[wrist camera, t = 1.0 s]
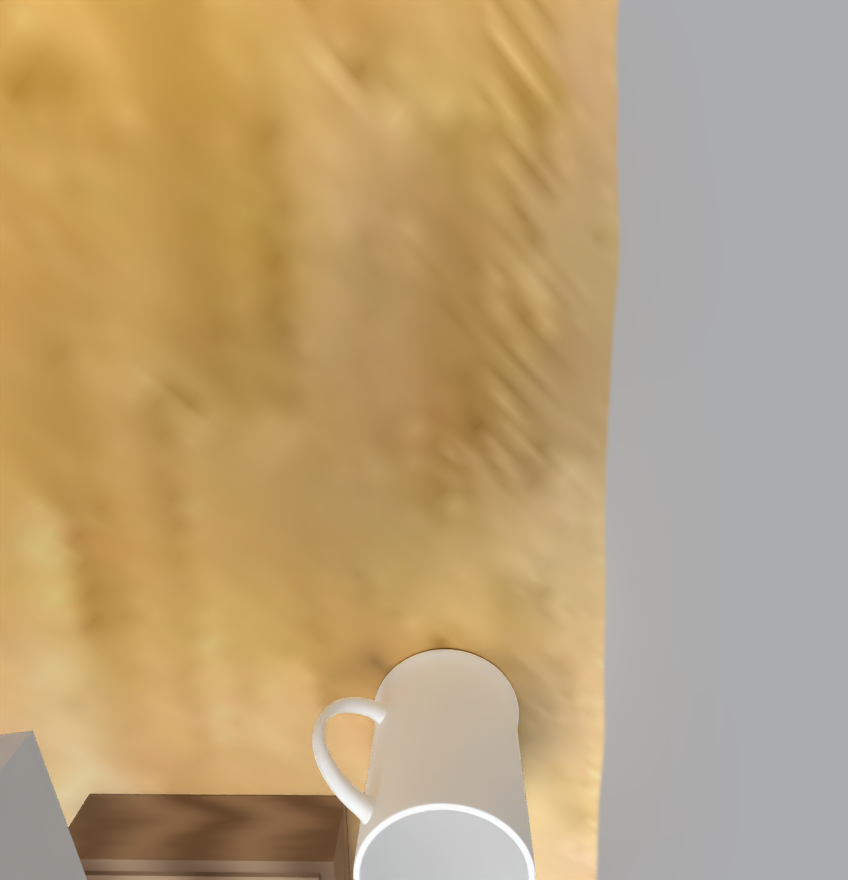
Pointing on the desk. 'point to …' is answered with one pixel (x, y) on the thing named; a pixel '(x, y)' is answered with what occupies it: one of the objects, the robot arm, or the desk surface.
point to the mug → (437, 774)
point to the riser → (212, 837)
